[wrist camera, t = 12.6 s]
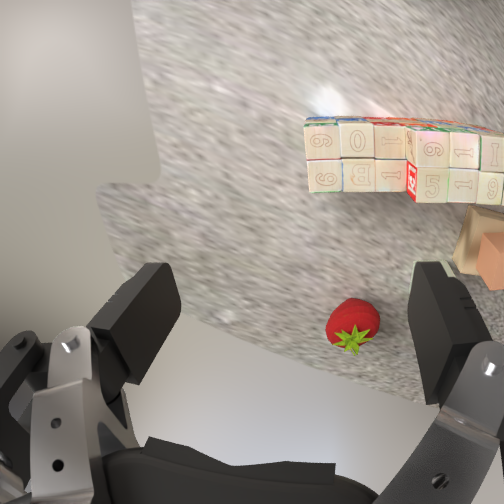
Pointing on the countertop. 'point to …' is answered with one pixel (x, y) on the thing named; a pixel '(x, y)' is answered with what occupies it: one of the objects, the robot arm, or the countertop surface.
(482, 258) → the terracotta block
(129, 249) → the countertop surface
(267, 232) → the countertop surface
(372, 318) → the strawberry
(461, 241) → the base block
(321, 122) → the stack of blocks
